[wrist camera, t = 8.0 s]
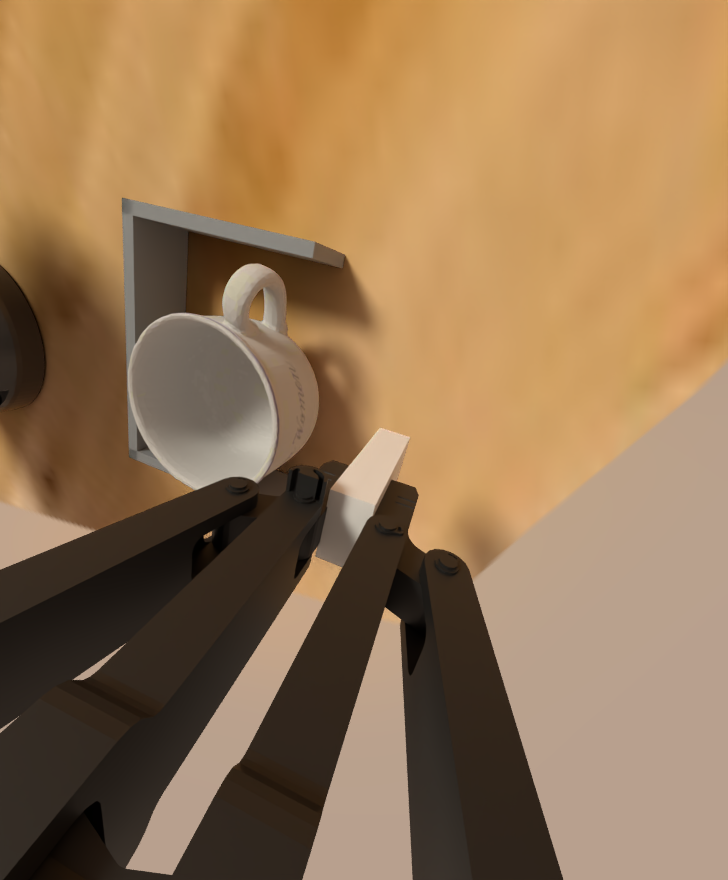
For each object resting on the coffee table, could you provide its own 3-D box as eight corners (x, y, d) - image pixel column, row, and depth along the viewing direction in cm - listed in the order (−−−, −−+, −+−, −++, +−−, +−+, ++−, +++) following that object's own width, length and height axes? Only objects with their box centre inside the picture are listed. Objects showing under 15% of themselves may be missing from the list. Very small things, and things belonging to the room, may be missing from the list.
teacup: (286, 478, 30) (223, 530, 23) (190, 392, 30) (97, 415, 23) (391, 345, 24) (351, 358, 17) (270, 238, 24) (179, 206, 17)
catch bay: (173, 439, 32) (129, 457, 28) (179, 216, 26) (121, 197, 22) (301, 488, 30) (272, 515, 26) (345, 255, 23) (315, 241, 19)
